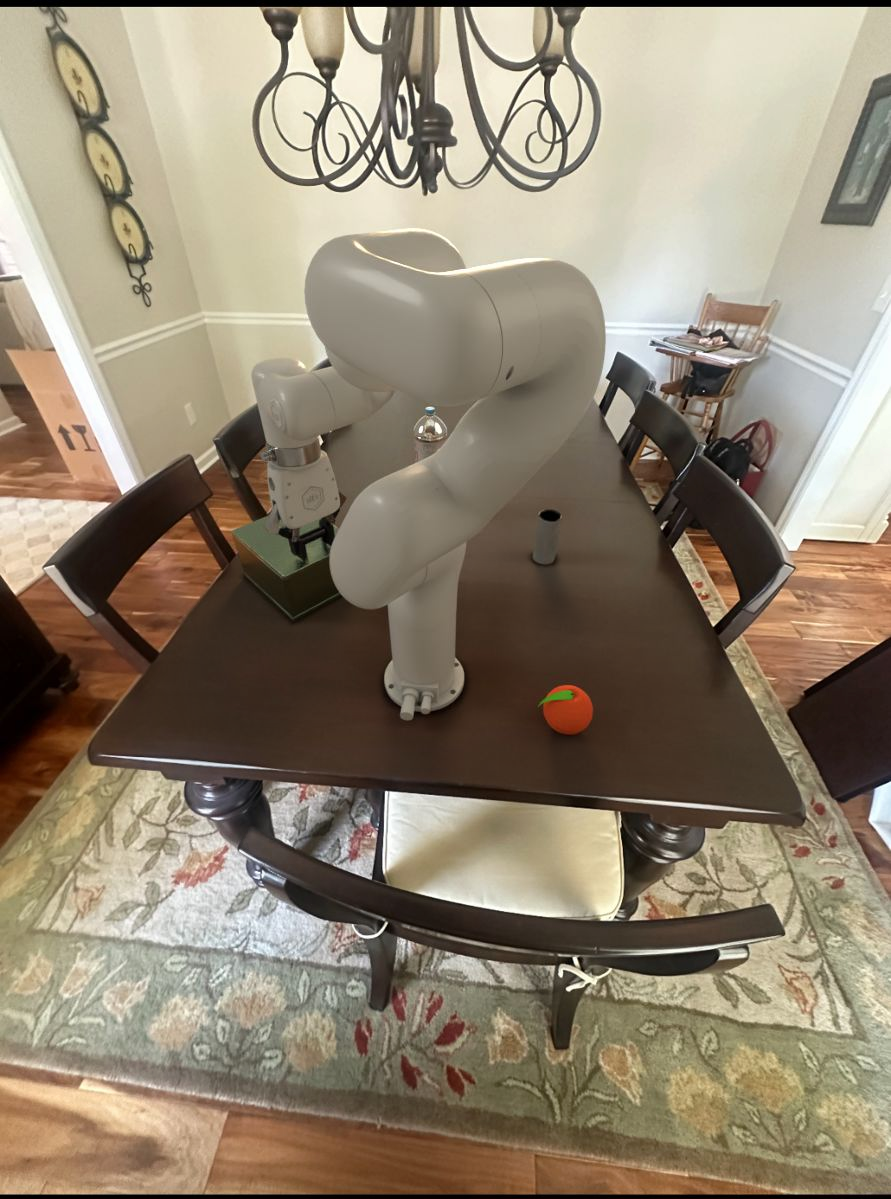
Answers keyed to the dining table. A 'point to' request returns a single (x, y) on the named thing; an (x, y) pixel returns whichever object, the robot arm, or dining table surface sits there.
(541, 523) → the grey cylinder
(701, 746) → the dining table surface
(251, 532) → the lid
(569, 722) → the clementine
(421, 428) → the water bottle
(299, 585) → the open green keepsake box
